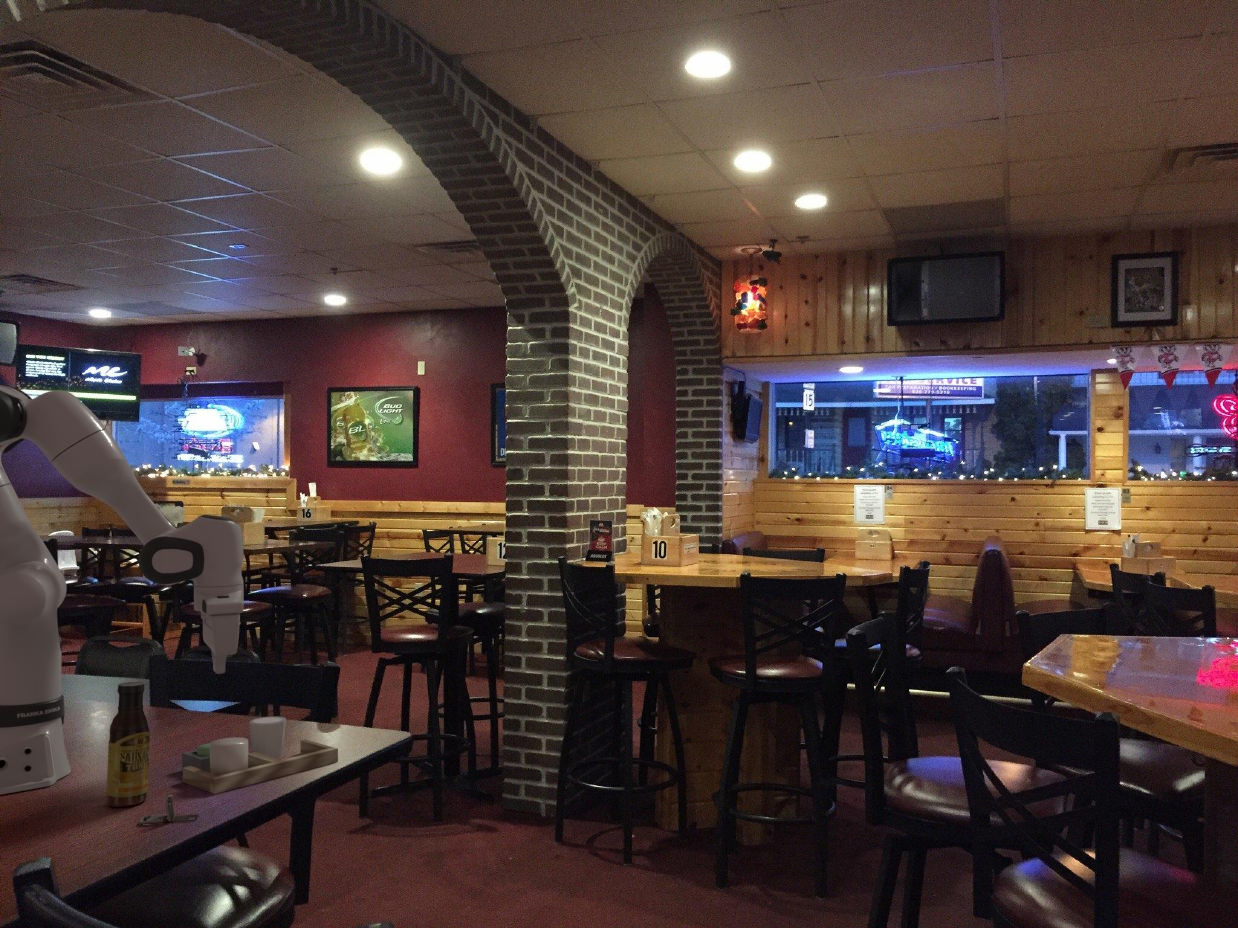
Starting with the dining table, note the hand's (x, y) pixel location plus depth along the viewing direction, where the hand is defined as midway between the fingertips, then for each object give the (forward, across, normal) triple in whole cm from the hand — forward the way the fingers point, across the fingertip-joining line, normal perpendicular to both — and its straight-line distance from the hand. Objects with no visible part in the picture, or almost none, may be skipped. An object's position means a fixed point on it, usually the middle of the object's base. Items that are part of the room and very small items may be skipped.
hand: (219, 672), depth 190 cm
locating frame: (+17, +9, +6) cm, 21 cm away
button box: (+17, +3, -2) cm, 18 cm away
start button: (+16, +3, -2) cm, 16 cm away
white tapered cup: (+18, -1, +9) cm, 20 cm away
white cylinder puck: (+17, +12, 0) cm, 21 cm away
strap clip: (+18, +30, -11) cm, 37 cm away
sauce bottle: (+17, +17, -16) cm, 29 cm away
